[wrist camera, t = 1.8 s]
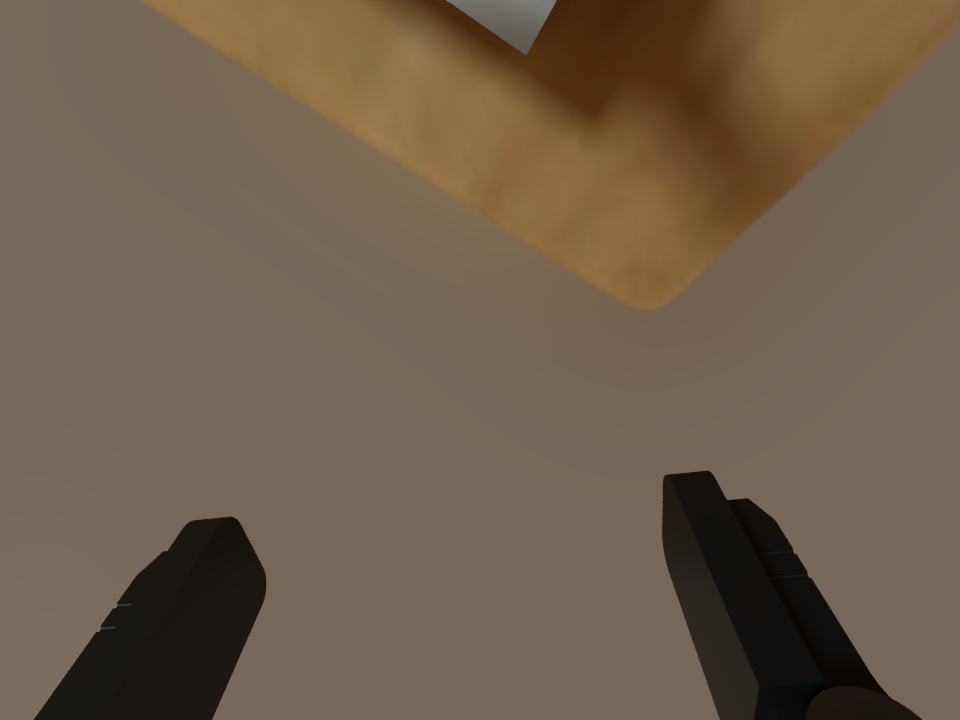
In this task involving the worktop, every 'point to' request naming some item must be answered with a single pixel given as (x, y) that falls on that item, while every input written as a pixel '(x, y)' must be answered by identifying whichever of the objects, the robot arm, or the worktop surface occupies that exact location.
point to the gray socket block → (509, 18)
